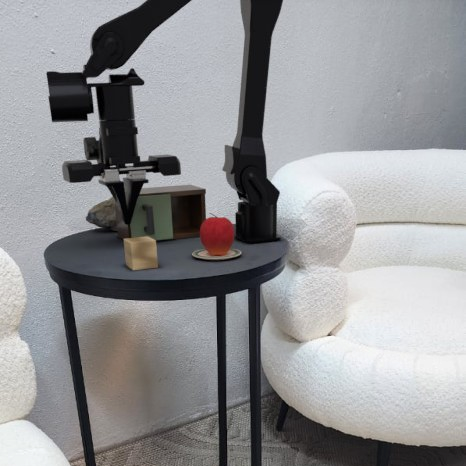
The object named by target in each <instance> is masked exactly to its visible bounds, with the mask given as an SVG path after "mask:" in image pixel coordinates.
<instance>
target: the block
mask: <svg viewBox="0 0 466 466" xmlns="http://www.w3.org/2000/svg"><path fill="white" fill-rule="evenodd" d="M123 248H124V258H125V259H124V260H125V266H126V267H128V268H129V269H131V270H132V271H141V270H149V269H157V268H159V262H158V261H159V260H158V250H157V249H158V248H157V241H156V240H154V239H152V238H150V237H148V236H146V237H136V238H126V239H124V240H123Z"/></svg>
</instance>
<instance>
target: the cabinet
mask: <svg viewBox="0 0 466 466" xmlns="http://www.w3.org/2000/svg"><path fill="white" fill-rule="evenodd" d="M164 194H170V197H171V213H172V229H173V239H164V240H163V241H168V240H171V241H172V240H180V239H190V238H200V228H201V225H202V223H203V222H204V221H205V220H206V219H207V208H206V206H207V205H206V194H207V190H206V188H204V187H200V186H196V185H193V184H181V185H165V186H152V187H142V189H141V192H140V194H139V196H151V195H164ZM114 201H115V200H114ZM115 211H116V220H117V230H118V231H117V237H119V238H120V239H121V240H123V241H124V239H126V238H132V237H131V226H130V224H128V225H126V224H125V223H124V221H123V219H122V216H121V214H120V212H119V209H118V207H117V204H116V202H115ZM158 241H159V242H161V241H162V240H156V242H158Z"/></svg>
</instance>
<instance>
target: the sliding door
mask: <svg viewBox="0 0 466 466" xmlns="http://www.w3.org/2000/svg"><path fill="white" fill-rule="evenodd" d="M130 226H131V237H132V238H136V237H146V236H148V237H150V238H152V239H154V240H161V241H165V240H164V239H171V240H174V239H173V229H172V213H171V197H170V194H164V195H151V196H139V197H138V199H137V203H136V206H135V210H134V213H133V217H132V221H131V224H130Z"/></svg>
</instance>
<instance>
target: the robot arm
mask: <svg viewBox="0 0 466 466" xmlns="http://www.w3.org/2000/svg"><path fill="white" fill-rule="evenodd" d="M191 1H192V0H145V1H144V2H143V3H142V4H140V5H138V6H137V7H135V8H133V9H131V10H130V11H127V12H125V13H123V14H121V15H119V16H117V17H115V18H113V19H111V20H109V21H106V22H105V23H103V24H101V25H99V26H98V27H97V28H96V29H95V31H93V34H92V35H91V37H90V42H89V51H90V56H89V58H88V60H87V62H86V64H82V71H75V72H59V71H56V70H55V71H54V70H53V71H52V70H51V71H47V72H46V81H47V87H48V93H49V95H48V96H47V97H48V104H49V111H50V117H51V123H70V122H71V123H75V122H88V121H89V117H88V115H93V114H95V107H94V98H93V91H92V88H95V97H96V104H97V105H96V107H97V112H98V113H97V115H98V123H99V127H98V135H99V136H98V140H97V138H96V137H95V136H89V137H88V136H87V137H83V151H84V155H85V159H78V160H77V159H76V160H65V161H63V164H62V165H61V172H62V178H63V180H64V181H66V182H67V183H71V184H77V183H90V182H91V181H92V180H93V179H94V177H99V179H98V180H97V181H98V184H100V185H102V186H105V187H106V188H107V189H108V191H109V192H110V195H111V197H112V196H113V198H114V200H115V202H116V204H117V207H118V209H119V212H120V214H121V216H122V219H123V221H124V223H125V224H126V225H128V224H131V221H132V217H133V213H134V210H135V206H136V203H137V199H138V197H139V194H140V192H141V189H142V188H144V187H143V186H144V185H145V184H149V181H150V180H149V179H148V178H146V176H147V173H153V174H161V175H162V176H163V177H169V176H180V175H182V167H181V166H182V165H181V162H180V159H179V158H178V157H177V156H176V155H172V154H155V155H154V154H153V155H148V158H147V160H141V156H140V155H139V149H138V136H137V135H139V130H138V126H137V125H136V116H135V104H134V93H133V87H141V86H142V87H143V86H145V79H143V78H141V77H140V76H139V75H138V73H137V72H136V70H135V68H133V67H132V68H129V70H128V72H127V73H116V74H114V73H112V74H108V82H89V83H88V80H87V79H96V78H98V77H100V76H101V75H102V74H103V73H104V72H106V70H108V71H115V70H118V69H120V68H121V67H123V66H125V65H126V64H127V62H128V61H129V60H130V58H132V56H133V55H134V54H135V53H136V52H137V51H138V50H139V48H140V47H141V46H142V45H143V43H144V42H145V41H146V40H147V39H148V37H149V36H150V34H152V33H153V32H154V31H155V30H156V29H158V27H160V26H161V25H162V24H164V23H165V22H167V21H168V20H169V19H170V18H171V17H173V16H174V15H175V14H176V13H178V12H179V11H181V9H183V8H185V6H186V5H188V4H190V3H191ZM283 2H284V0H239V5H240V14H241V20H242V26H243V31H244V33H243V34H244V40H243V51H242V65H241V77H240V78H241V79H240V90H239V102H238V103H239V104H238V117H237V128H236V134H235V138H234V141H233V143H232V145H228V144H225V145H224V164H223V166H222V169H221V171H222V172H225V179H226V182H227V184H228V185H229V187H231V189H233V190H235V191H236V195H237V197H238V200H239V201H237V211H235V213H234V214H235V215H234V216H235V217H234V218H235V234H234V239H237V240H240V241H242V242H244V243H247V244H248V243H249V244H253V243H263V242H273V241H281V240H282V236H280V235H278V201H279V198H280V195H281V192H280V190H279V189H278V187H276V186H275V184H273V182H272V181H271V180H270V179H269V178H268V170H267V168H268V167H267V154H266V149H265V144H264V137H263V133H264V123H265V112H266V102H267V101H266V100H267V91H268V81H269V72H270V71H269V70H270V69H269V68H270V59H271V50H272V49H271V48H272V39H273V34H274V31H275V28H276V26H277V25H276V24H277V23H278V19H279V16H280V14H281V11H282V7H283ZM92 161H96V162H97V163H93V162H92ZM120 175H125V177H122V180H121V179H120ZM124 187H125V188H124Z"/></svg>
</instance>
